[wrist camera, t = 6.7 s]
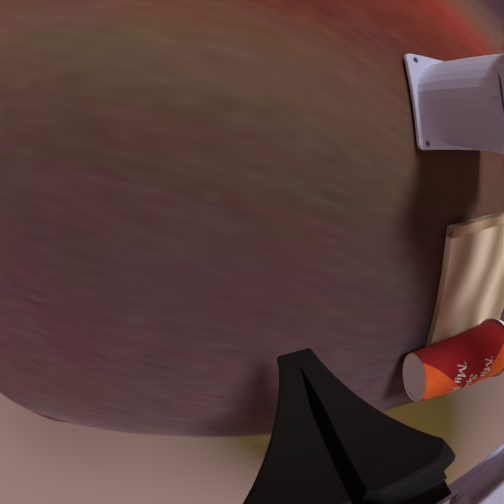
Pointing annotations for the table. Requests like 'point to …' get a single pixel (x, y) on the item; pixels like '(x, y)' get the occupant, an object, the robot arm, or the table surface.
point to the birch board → (470, 277)
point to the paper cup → (455, 361)
